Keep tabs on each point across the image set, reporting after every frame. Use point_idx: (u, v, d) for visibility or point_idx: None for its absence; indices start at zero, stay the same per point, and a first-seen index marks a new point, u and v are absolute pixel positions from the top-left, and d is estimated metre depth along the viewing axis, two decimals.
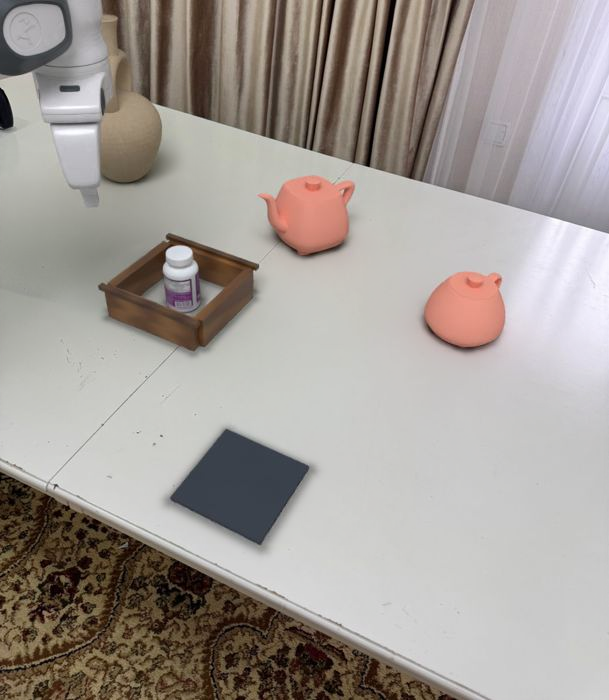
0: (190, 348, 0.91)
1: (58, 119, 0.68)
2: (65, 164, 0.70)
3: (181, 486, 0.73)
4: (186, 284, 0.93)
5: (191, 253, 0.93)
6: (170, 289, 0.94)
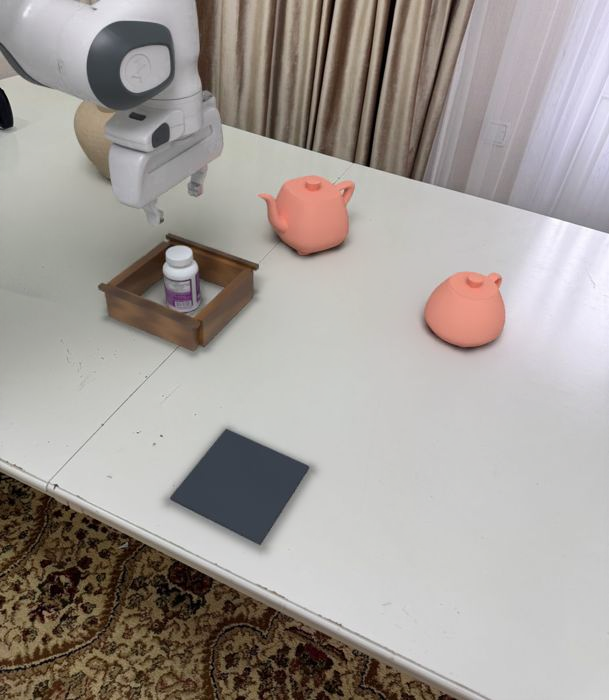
0: (190, 348, 0.91)
1: (114, 140, 0.74)
2: (113, 180, 0.76)
3: (181, 486, 0.73)
4: (186, 284, 0.93)
5: (191, 253, 0.93)
6: (170, 289, 0.94)
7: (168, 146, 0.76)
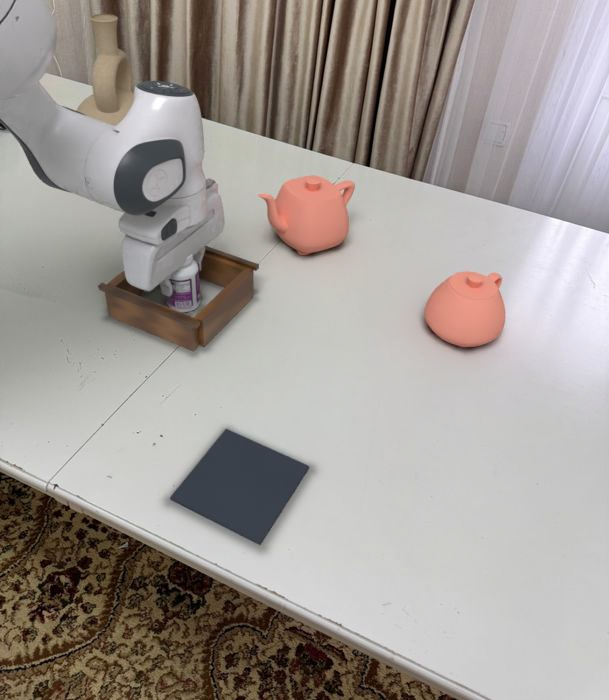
0: (190, 348, 0.91)
1: (127, 233, 0.82)
2: (125, 267, 0.84)
3: (181, 486, 0.73)
4: (186, 284, 0.93)
5: None
6: None
7: (175, 236, 0.85)
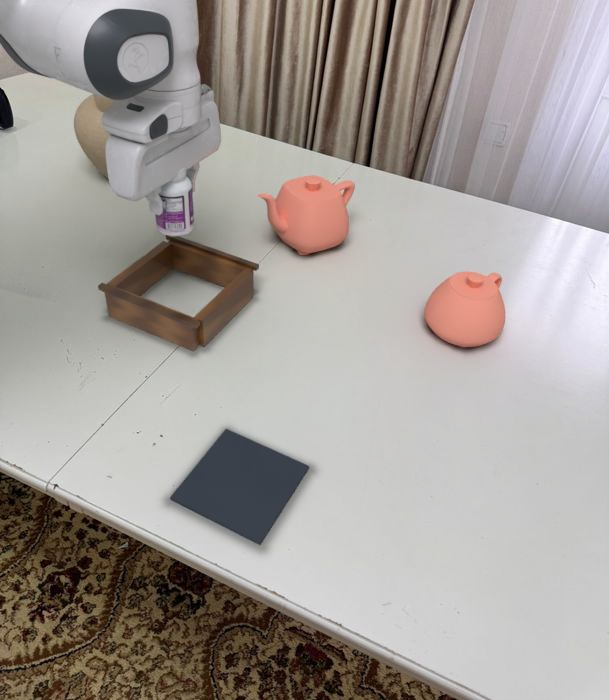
0: (190, 348, 0.91)
1: (111, 131, 0.73)
2: (109, 171, 0.75)
3: (181, 486, 0.73)
4: (178, 202, 0.84)
5: None
6: None
7: (166, 138, 0.76)
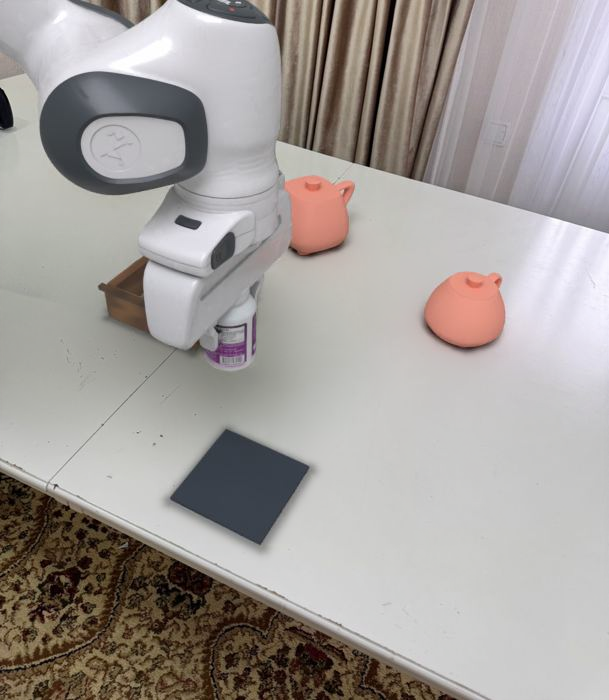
0: (190, 348, 0.91)
1: (153, 258, 0.49)
2: (149, 312, 0.51)
3: (181, 486, 0.73)
4: (239, 332, 0.60)
5: None
6: None
7: (230, 261, 0.52)
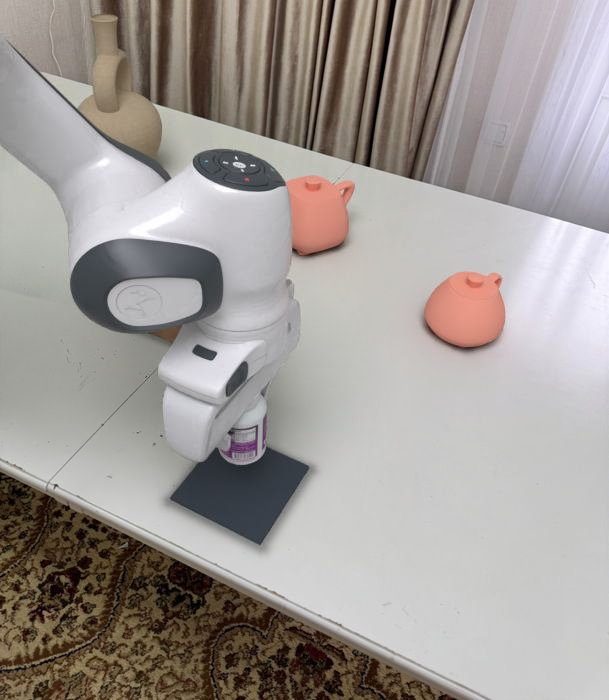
0: None
1: (172, 385, 0.53)
2: (167, 430, 0.55)
3: (181, 486, 0.73)
4: (250, 432, 0.64)
5: None
6: None
7: (243, 382, 0.56)
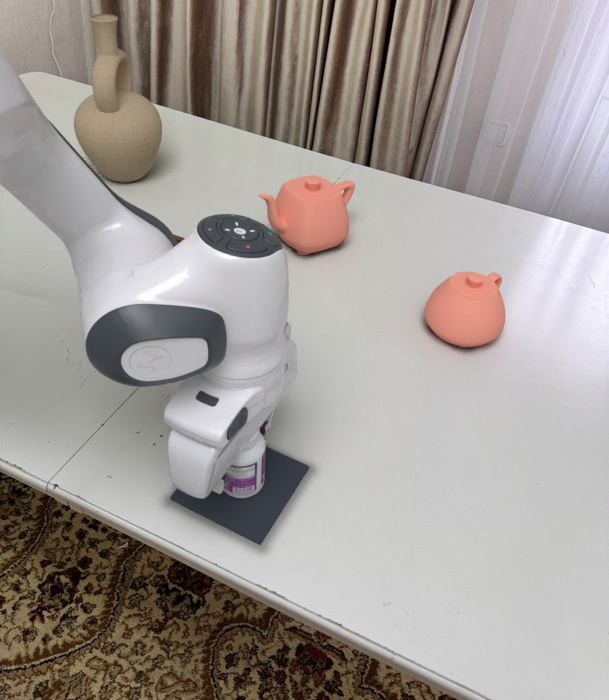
0: None
1: (177, 429, 0.57)
2: (172, 469, 0.59)
3: None
4: (250, 469, 0.68)
5: (258, 429, 0.67)
6: (227, 474, 0.69)
7: None
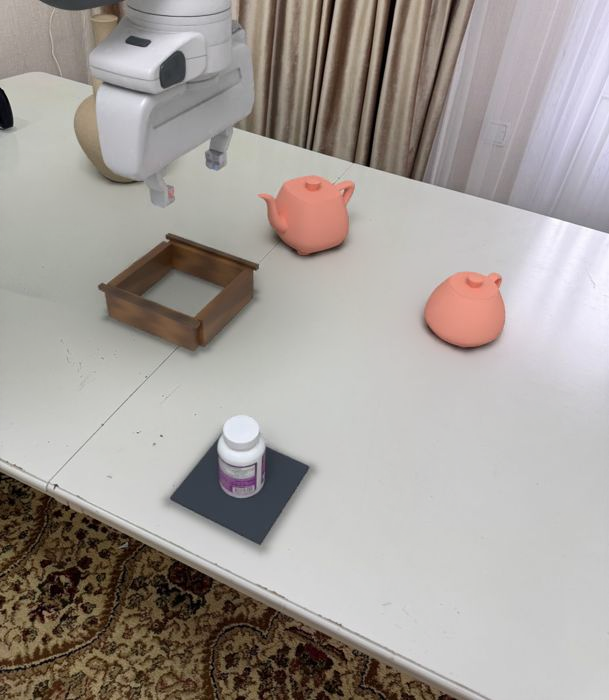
0: (190, 348, 0.91)
1: (103, 76, 0.50)
2: (102, 138, 0.52)
3: (181, 486, 0.73)
4: (250, 469, 0.68)
5: (258, 429, 0.67)
6: (227, 474, 0.69)
7: (183, 89, 0.52)
